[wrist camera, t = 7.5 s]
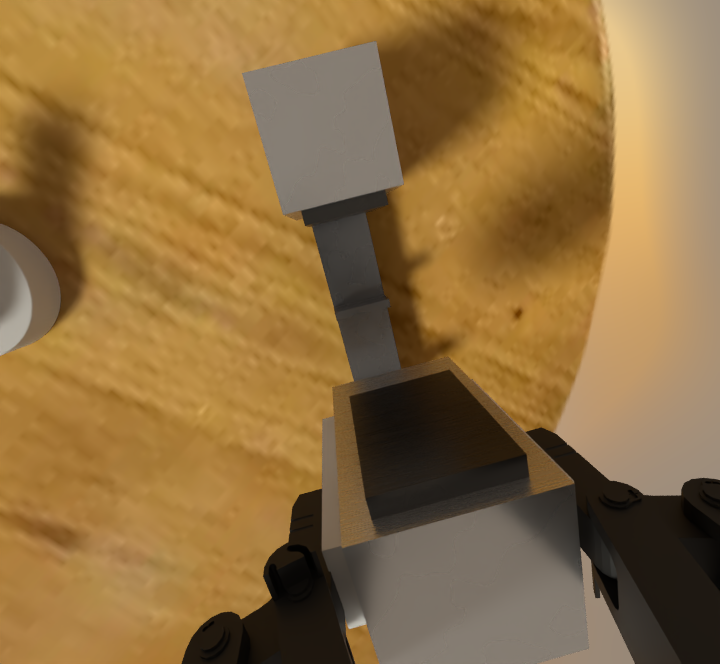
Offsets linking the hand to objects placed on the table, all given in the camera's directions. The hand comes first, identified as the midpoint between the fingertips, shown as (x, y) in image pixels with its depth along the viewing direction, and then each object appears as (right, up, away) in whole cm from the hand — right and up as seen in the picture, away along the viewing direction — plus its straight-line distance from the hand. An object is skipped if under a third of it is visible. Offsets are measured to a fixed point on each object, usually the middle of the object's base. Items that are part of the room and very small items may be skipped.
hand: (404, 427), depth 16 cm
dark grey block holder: (-3, +9, +10) cm, 14 cm away
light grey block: (0, 0, 0) cm, 0 cm away
